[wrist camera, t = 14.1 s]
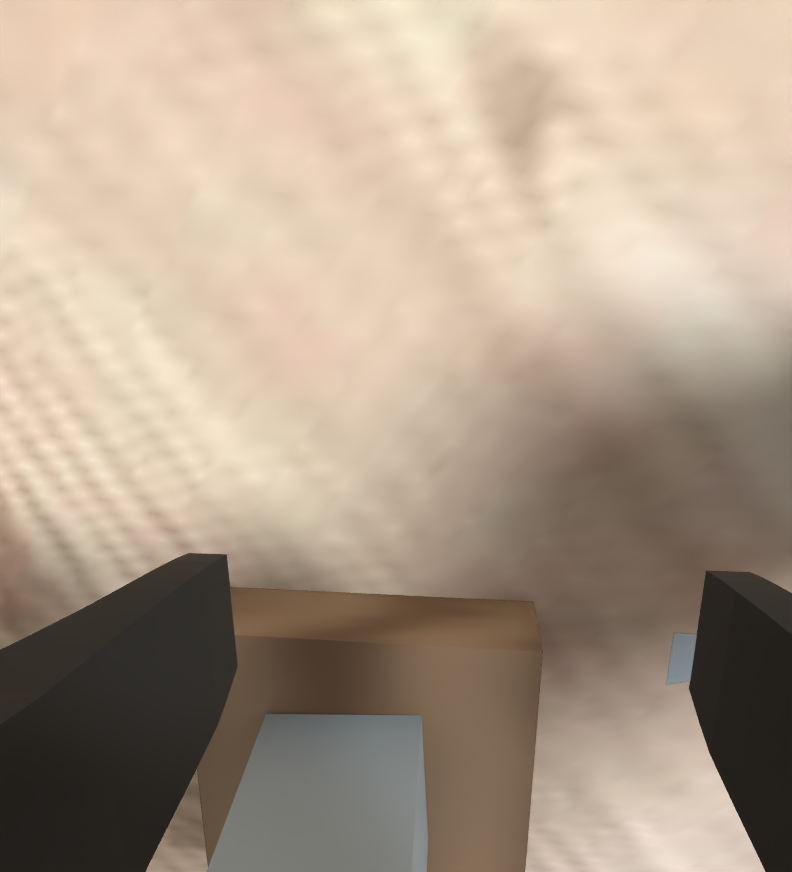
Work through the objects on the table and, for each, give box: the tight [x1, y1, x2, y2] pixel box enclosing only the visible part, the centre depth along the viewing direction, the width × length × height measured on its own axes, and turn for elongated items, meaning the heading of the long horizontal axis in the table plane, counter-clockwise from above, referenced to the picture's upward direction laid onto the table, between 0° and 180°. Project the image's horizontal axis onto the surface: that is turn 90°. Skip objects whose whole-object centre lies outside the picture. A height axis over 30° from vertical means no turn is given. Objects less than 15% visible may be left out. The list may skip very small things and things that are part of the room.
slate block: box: [207, 714, 428, 872], centre depth 18 cm, size 4×4×5 cm
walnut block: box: [197, 587, 543, 872], centre depth 22 cm, size 10×10×3 cm
